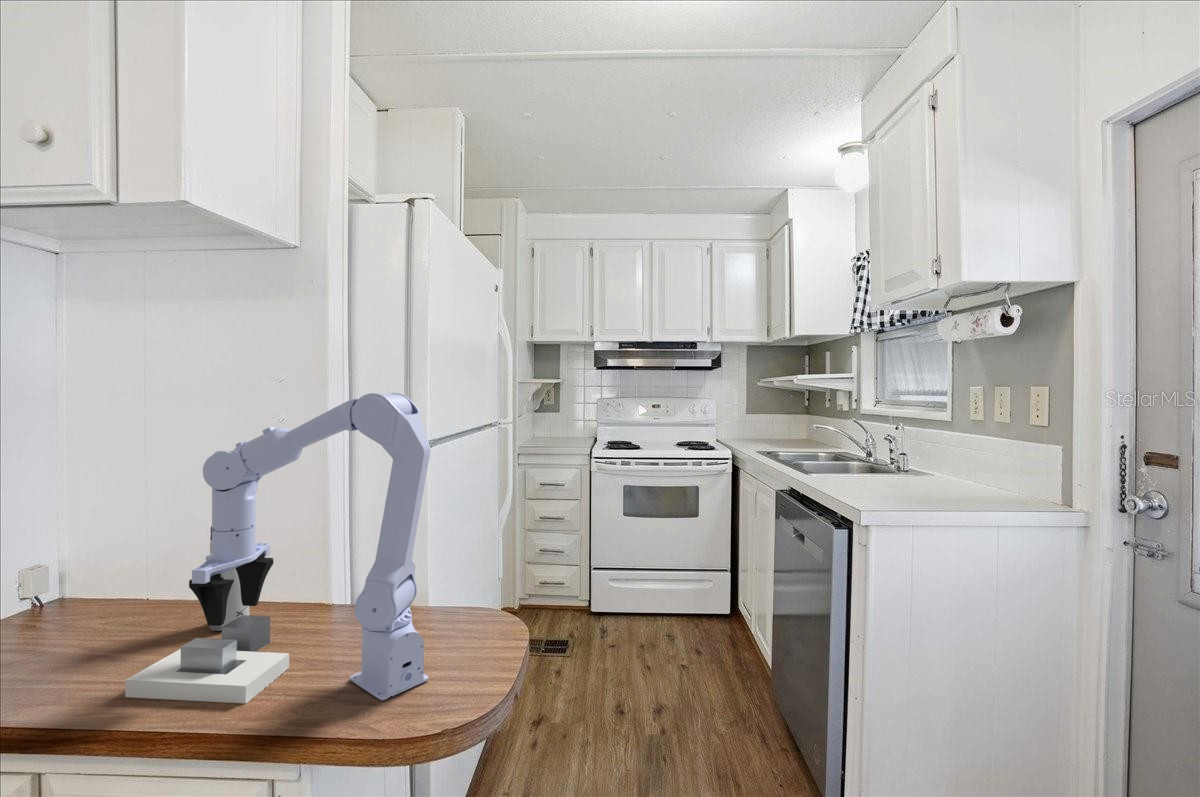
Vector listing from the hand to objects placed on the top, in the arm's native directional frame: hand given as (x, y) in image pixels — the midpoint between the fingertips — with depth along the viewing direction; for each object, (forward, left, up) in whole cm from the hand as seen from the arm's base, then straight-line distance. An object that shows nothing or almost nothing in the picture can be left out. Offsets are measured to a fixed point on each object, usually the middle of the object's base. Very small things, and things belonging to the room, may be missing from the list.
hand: (233, 614), depth 88 cm
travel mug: (+21, -6, -10) cm, 24 cm away
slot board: (0, +3, -9) cm, 10 cm away
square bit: (+7, -4, -9) cm, 13 cm away
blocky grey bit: (0, +3, -9) cm, 10 cm away
